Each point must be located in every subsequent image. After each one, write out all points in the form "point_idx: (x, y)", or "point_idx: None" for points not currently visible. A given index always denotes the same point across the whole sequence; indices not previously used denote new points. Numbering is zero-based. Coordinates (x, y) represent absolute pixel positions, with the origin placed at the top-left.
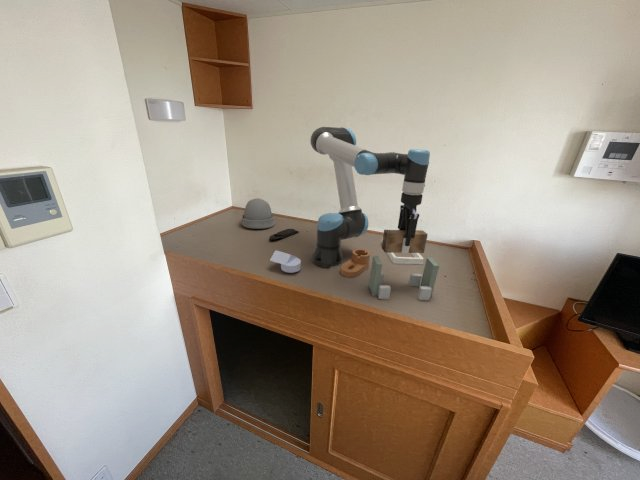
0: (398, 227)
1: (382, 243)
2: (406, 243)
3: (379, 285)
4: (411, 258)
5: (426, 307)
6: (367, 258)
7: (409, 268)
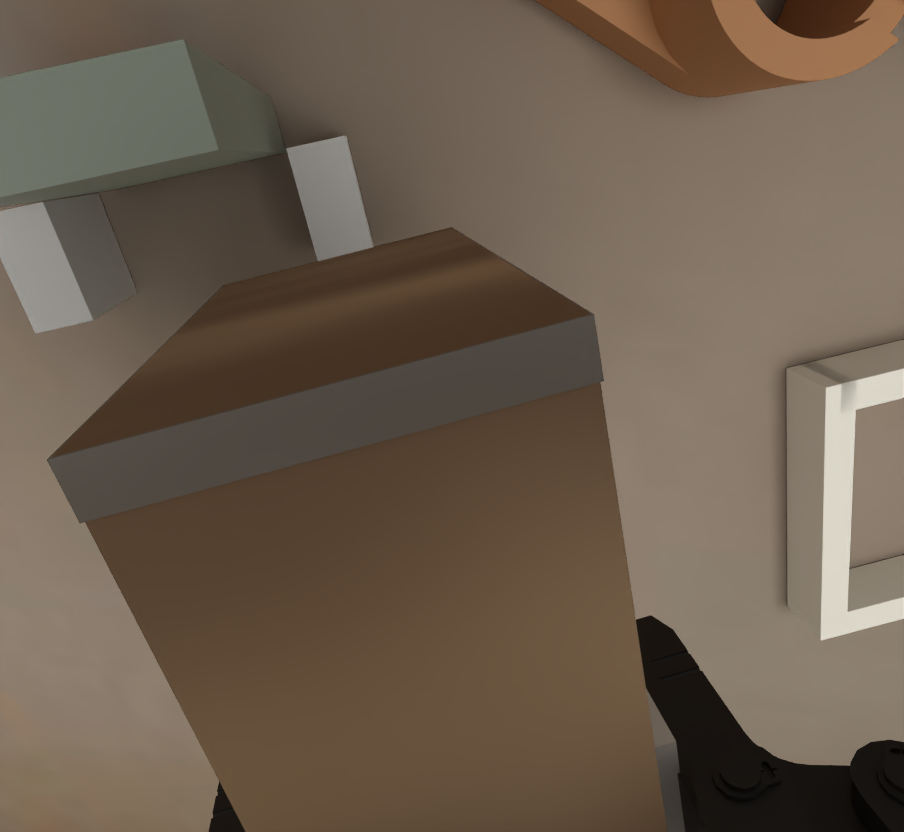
0: (884, 789)
1: (453, 242)
2: (217, 799)
3: (39, 203)
4: (826, 544)
5: (105, 582)
6: (710, 47)
7: (705, 502)
